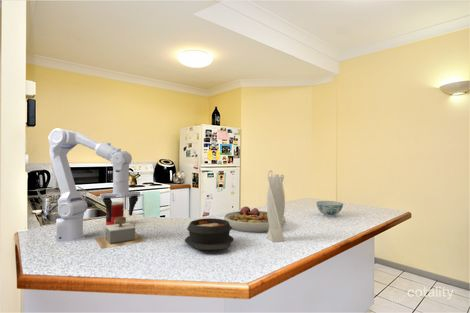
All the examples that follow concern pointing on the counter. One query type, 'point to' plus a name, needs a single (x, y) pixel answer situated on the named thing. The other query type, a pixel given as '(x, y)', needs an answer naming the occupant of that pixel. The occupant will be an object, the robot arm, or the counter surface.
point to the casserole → (209, 234)
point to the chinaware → (329, 208)
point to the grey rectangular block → (120, 233)
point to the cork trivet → (104, 243)
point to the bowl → (249, 220)
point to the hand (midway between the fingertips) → (120, 216)
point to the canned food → (115, 212)
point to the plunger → (120, 221)
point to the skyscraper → (275, 207)
